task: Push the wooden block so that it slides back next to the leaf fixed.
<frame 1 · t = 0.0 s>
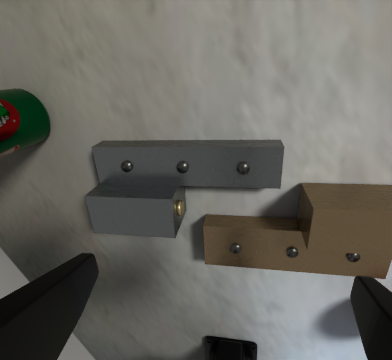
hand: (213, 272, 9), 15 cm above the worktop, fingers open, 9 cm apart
leaf fixed: (190, 195, 25), on the worktop
soda can: (31, 115, 24), on the worktop
wooden block: (294, 236, 22), point 2 cm above the worktop, slide at 9.5 cm
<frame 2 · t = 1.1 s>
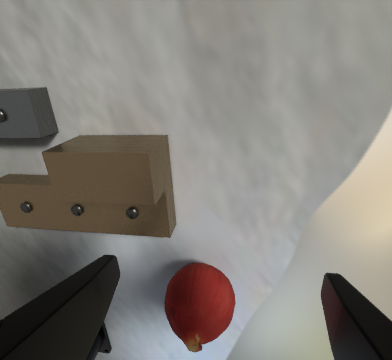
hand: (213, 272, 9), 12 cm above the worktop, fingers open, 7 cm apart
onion: (205, 266, 25), on the worktop
wooden block: (70, 191, 21), point 2 cm above the worktop, slide at 9.5 cm
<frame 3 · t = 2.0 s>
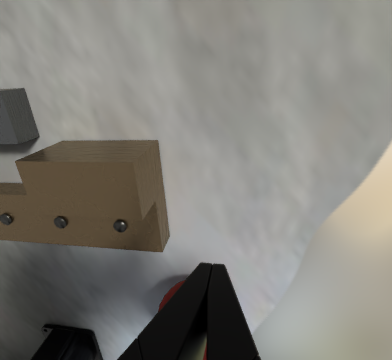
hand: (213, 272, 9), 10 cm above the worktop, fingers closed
wooden block: (52, 202, 19), point 2 cm above the worktop, slide at 9.5 cm
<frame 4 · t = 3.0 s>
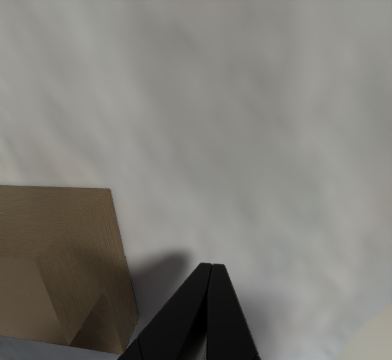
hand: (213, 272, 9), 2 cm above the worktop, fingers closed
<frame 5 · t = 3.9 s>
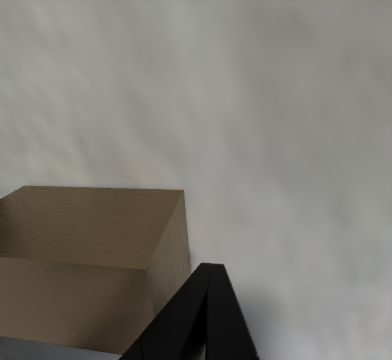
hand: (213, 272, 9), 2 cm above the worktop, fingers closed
wooden block: (7, 288, 11), point 2 cm above the worktop, slide at 9.2 cm, touching gripper
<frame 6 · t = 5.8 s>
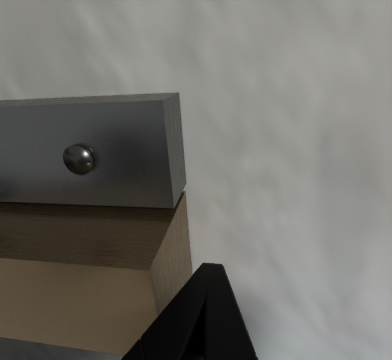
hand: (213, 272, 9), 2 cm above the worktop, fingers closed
leaf fixed: (31, 216, 13), on the worktop
wooden block: (9, 289, 11), point 2 cm above the worktop, slide at 0.0 cm, touching gripper
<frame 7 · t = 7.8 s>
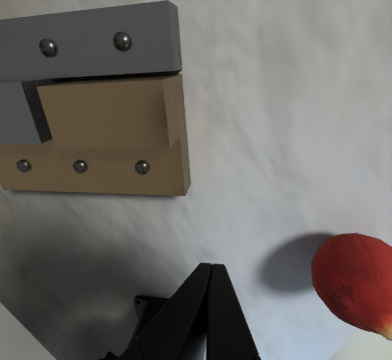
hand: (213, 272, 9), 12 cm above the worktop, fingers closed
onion: (340, 240, 21), on the worktop
leaf fixed: (82, 104, 19), on the worktop
wooden block: (71, 143, 18), point 2 cm above the worktop, slide at 0.0 cm
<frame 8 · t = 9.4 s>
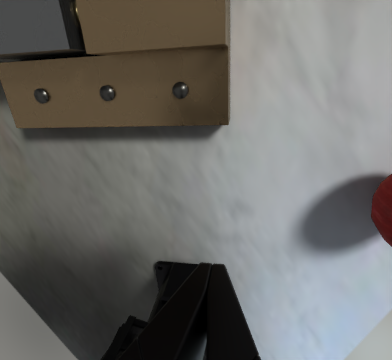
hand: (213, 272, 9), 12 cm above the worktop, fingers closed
leaf fixed: (111, 23, 17), on the worktop
wooden block: (100, 62, 16), point 2 cm above the worktop, slide at 0.0 cm
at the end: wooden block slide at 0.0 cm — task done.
